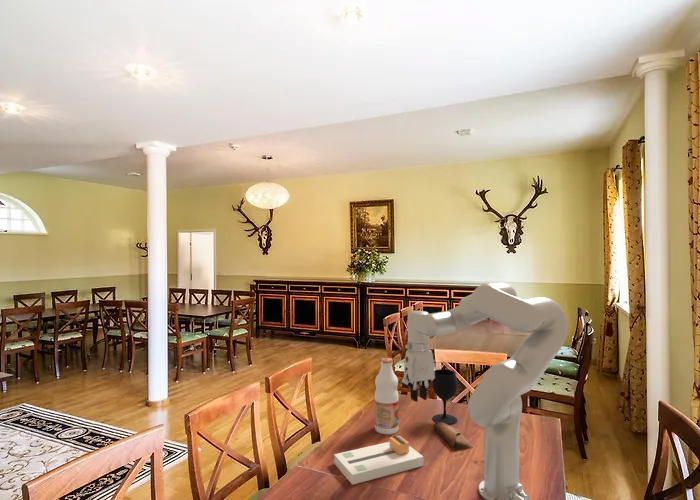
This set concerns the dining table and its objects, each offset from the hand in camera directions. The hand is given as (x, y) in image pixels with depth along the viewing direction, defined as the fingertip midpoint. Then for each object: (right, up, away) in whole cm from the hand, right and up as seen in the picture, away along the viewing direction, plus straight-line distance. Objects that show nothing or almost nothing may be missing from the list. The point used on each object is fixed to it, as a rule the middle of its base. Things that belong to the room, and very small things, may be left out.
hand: (418, 399), depth 144 cm
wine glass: (+16, -20, +30) cm, 39 cm away
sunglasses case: (+15, -20, +12) cm, 28 cm away
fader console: (-15, -19, -7) cm, 25 cm away
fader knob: (-7, -16, -4) cm, 18 cm away
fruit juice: (-9, -20, +20) cm, 29 cm away
